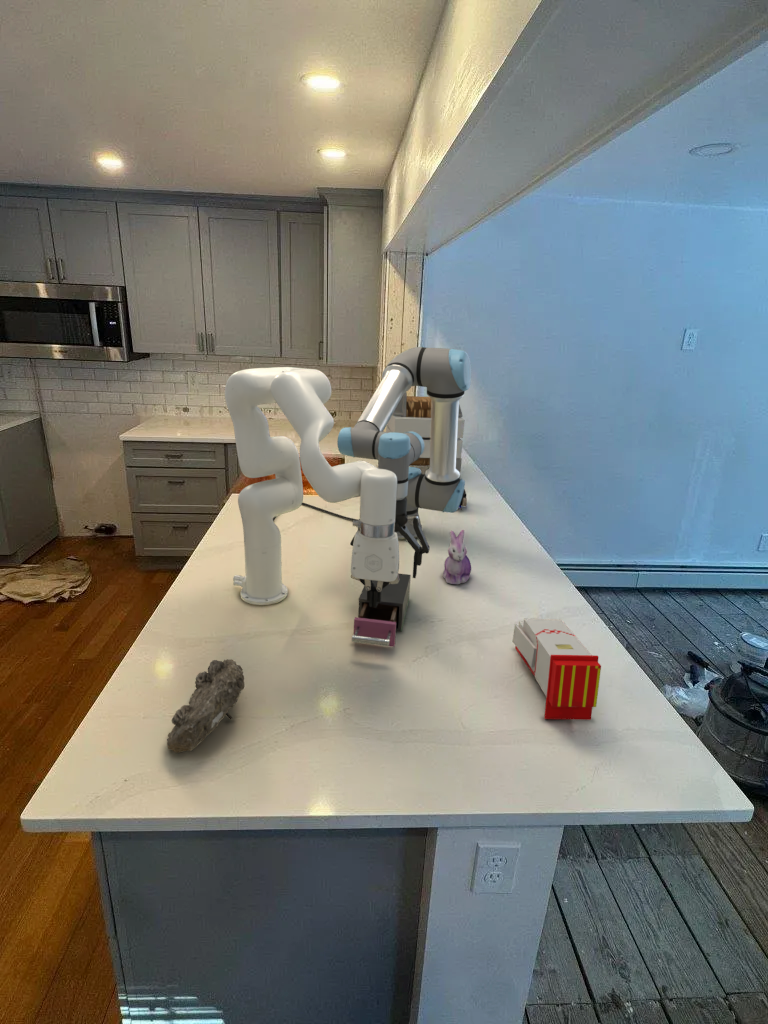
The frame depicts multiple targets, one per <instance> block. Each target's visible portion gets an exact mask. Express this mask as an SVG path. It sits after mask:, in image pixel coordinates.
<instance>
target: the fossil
mask: <svg viewBox="0 0 768 1024" xmlns="http://www.w3.org/2000/svg"><path fill="white" fill-rule="evenodd" d="M243 670H244V669H243V667H242V665H240V664H237V662H236V661H235V660H234V659H232V658H231V659H227V658H226V659H224V660H223V661H222V660H217V659H212V660H211V661H210V663H209V665H208V666H207V671H201V672H199V673H198V674H197V675H196V676H195V680H194V684H195V685H194V687H195V689H194V690H193V693H192V694H191V697H190V698H189V700H188V704H184V705H182V706H181V707H180V709H177V710H176V711H175V713H174V715H173V716H172V718H171V723H172V724H173V727H172V730H171V731H170V732H168V734H167V738H166V741H167V742H166V745H167V749H168V750H169V751H173V752H174V753H176V754H178V753H182V752H188V751H189V752H192V751H193V750H195V748H196V747H197V746H199V744H200V743H201V742H203V741H204V740H205V739H206V738H207V737H208V736H209V735H210V734H211V733H212V732H214V730H215V729H217V727H218V726H219V724H220V722H221V721H222V720H223V719H224V718H225V716H226V717H227V719H229V720H233V717H232V715H230V714H229V710H230V709H231V708H234V706H235V704H236V703H237V702H238V699H239V697H240V695H241V693H242V691H243V690H245V689H244V688H245V675H244V671H243Z"/></svg>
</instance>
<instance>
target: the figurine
mask: <svg viewBox="0 0 768 1024" xmlns="http://www.w3.org/2000/svg"><path fill="white" fill-rule="evenodd" d="M455 533H456V532H454V531H453V530H450V531H449V541H450V544H449V545H448V548H447V554H448V556H447V557H446V558H445V560H444V564H443V565H444V569H443V575H442V576H443V579H444V580H445V582H446V583H447V584H450V585H451V584H452V585H460V584H464V583H466V582H468V580H469V579H470V576H471V573H472V563H471V560H470V558H469V557H468V555H467V553H468V550H467V547H466V545H465V542H464V539H465V535H466V534H465V533H466V532H465V530H464V529H462V530H460V531H459V534H458V535H456V534H455Z"/></svg>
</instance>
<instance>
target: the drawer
mask: <svg viewBox="0 0 768 1024" xmlns="http://www.w3.org/2000/svg"><path fill="white" fill-rule="evenodd" d="M398 618H399V606H391V605H382V604H377V607H373V606H372V607H369V603H365V602H364V605H363V608H362V610H361V613H360V615H359V618H358V616H354V619H353V634H352V635H351V643H358V644H366V645H373V646H380V647H381V646H382V647H390V648H391V647H392V648H395V645H396V634H397V633H396V632H397V631H396V625H397V621H398Z"/></svg>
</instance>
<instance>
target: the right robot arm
mask: <svg viewBox="0 0 768 1024" xmlns="http://www.w3.org/2000/svg"><path fill="white" fill-rule="evenodd" d="M471 384H472V363H471V359H470V355H469V354H468V352H466V351H465V350H464V349H463V350H462V349H455V348H441V347H425V346H415V347H411V348H408V349H406V350H404V351H402V352H400V353H399V354H397V355H396V356H394V358H392V359H391V360H390V361H389V362H388V363H387V365H386V366H385V368H384V369H383V370H382V374H381V381H380V383H379V384H378V386H377V388H376V390H375V391H374V392H373V394H372V396H371V398H370V400H369V401H368V403H367V405H366V406H365V408H364V410H363V412H362V413H361V415H360V417H359V418H358V419H357V421H356V423H355V424H354V426H353V427H352V426H348V427H342V428H341V429H340V431H339V433H338V435H337V442H336V443H337V448H338V452H339V453H340V454H341V455H342V456H346V457H351V458H359V459H367V460H376V461H377V468H379V469H385V470H389V471H392V472H393V473H395V475H396V477H397V495H396V514H395V532H396V533H397V536H398V541H406V542H407V543H408V544H409V545H410V546H411V548H412V549H413V550H414V553H413V564H412V565H413V566H412V579H416V577H417V574H418V566H419V567H420V566H422V562H423V554H429V553H430V544H429V542H428V540H427V538H426V536H425V533H424V531H423V525H422V524H421V518H420V515H419V509H424V510H430V511H435V512H436V511H437V512H441V513H450V514H451V513H456V512H457V511H458V509H459V508H460V507H459V505H460V502H461V499H462V496H463V492H464V489H465V486H466V481H465V479H463V478H461V474H460V472H459V471H458V470H457V469H456V452H457V433H458V413H459V405H460V399H462V398H464V396H465V392H466V391H468V390H469V389H470V388H471ZM412 387H421V388H422V387H424V388H426V395H427V397H430V398H431V437H430V466H429V468H428V469H426V470H425V471H424V473H422V470H421V468H419V467H417V466H409V465H410V464H412V463H413V462H414V461H416V460H418V458H419V457H420V455H421V454H422V453H423V451H424V441H423V439H422V437H421V436H420V435H419V434H418V433H416V432H411V431H410V432H404V433H396V432H386V431H384V430H386V426H387V423H388V422H389V420H390V418H391V416H392V414H393V412H394V411H395V409H396V407H397V405H398V403H399V401H400V400H401V398H402V396H403V394H404V392H406V393H407V392H409V390H410V389H412ZM301 506H306V507H308V508H312V509H315V510H318V511H320V512H323V513H326V514H329V515H332V516H335V517H338V518H341V519H343V520H348V521H352V522H353V520H359V518H358V519H357V518H353V517H349V516H346V515H345V516H344V515H341V514H338V513H335V512H333V511H329V510H326V509H323V508H320V507H317V506H314V505H312V504H310V503H309V504H308V503H306V502H304V501H303V502H302V504H301ZM458 507H459V508H458ZM358 530H359V529H358V528H357V531H358ZM357 531H356V532H357ZM354 537H355V535H353V537H352V539H351V541H350V546H351V547H353V542H354ZM417 539H418V540H417ZM418 541H419V542H418Z"/></svg>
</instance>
